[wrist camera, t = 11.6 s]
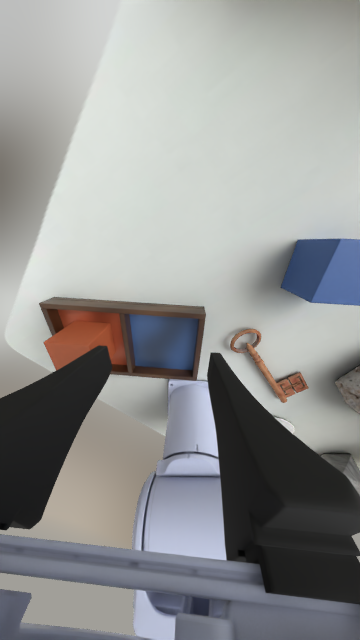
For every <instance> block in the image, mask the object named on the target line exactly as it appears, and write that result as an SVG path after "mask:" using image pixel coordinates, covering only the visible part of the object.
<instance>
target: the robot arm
mask: <svg viewBox="0 0 360 640" xmlns="http://www.w3.org/2000/svg"><path fill="white" fill-rule="evenodd" d="M111 370H112V364H111V360H110V355H109V351H108V347H107V346H100V345H99V346H97V347H95V348H93V349H92V350H90V351H88V352H87V353H85V354H83V355H82V356H80V357H78V358H77V359H75V360H74V361H72V362H70V363H69V364H67V365H65V366H64V367H62V368H60V369H58V370H57V371H55V372H53V373H51V374H50V375H48V376H46V377H44V378H42V379H40V380H38V381H36V382H34V383H33V384H30V385H29V386H26V387H24V388H22V389H20V390H18V391H16V392H14V393H11V394H9V395H7V396H5V397H2V398H0V530H7V529H8V528H9V527H14V528H23V529H31V528H32V527H33V526H35V525H36V524H37V523H38V522H39V521H40V520H41V518H42V515H43V512H44V510H45V507H46V505H47V502H48V499H49V497H50V495H51V492H52V489H53V487H54V484H55V482H56V480H57V477H58V475H59V473H60V470H61V468H62V465H63V463H64V461H65V458H66V456H67V454H68V452H69V450H70V447H71V445H72V443H73V441H74V439H75V437H76V435H77V433H78V430H79V429H80V426H81V424H82V422H83V420H84V419H85V417H86V415H87V413H88V412H89V410H90V408H91V407H92V405H93V403H94V402H95V400H96V398H97V397H98V395H99V393H100V392H101V390H102V388H103V387H104V385H105V383H106V381H107V379H108V377H109V375H110V372H111ZM207 377H208V381H189V380H177V379H169V382H168V422H167V430H166V438H165V446H164V454H163V460H158V462H157V468H156V471H154V472H152V473H151V474H150V475H149V477H148V478H147V480H146V482H145V483H144V485H143V487H142V490H141V493H140V496H139V499H138V503H137V508H136V513H135V520H134V526H133V539H132V550H131V549H123V548H114V547H106V546H97V545H87V544H80V543H70V542H61V541H54V540H45V539H37V538H36V539H35V538H28V537H19V536H10V535H2V534H0V573H7V574H16V575H23V576H31V577H39V578H47V579H55V580H62V581H71V582H79V583H87V584H95V585H102V586H110V587H119V588H126V589H134V598H133V600H134V601H133V608H134V617H133V628H134V632H135V634H136V636H132V635H126V634H119V633H112V632H105V631H97V630H88V629H79V628H70V627H60V626H50V625H40V624H30V623H21V620H22V618H23V615H24V613H25V611H26V609H27V606H28V604H29V602H30V600H31V593H26V592H19V591H11V590H3V589H0V640H360V562H359V560H358V559H357V557H356V556H360V551H359V549H358V548H357V546H356V544H355V542H354V540H353V538H352V537H351V536H352V535H354V534H357V533H359V532H360V495H359V493H358V492H357V490H356V489H355V487H354V486H353V485H352V483H351V482H350V480H349V479H348V478H347V476H346V475H344V474H343V473H342V472H341V471H339V470H338V469H337V468H335V467H334V466H333V465H331V464H330V463H329V462H327V461H326V460H325V459H323V458H322V457H321V456H319V455H318V454H317V453H316V452H314V451H313V450H312V449H310V448H309V447H308V446H307V445H305V444H304V443H303V442H302V441H301V440H299V439H298V438H297V437H296V436H295V435H293V434H292V433H291V432H290V431H289V430H288V429H286V428H285V427H284V426H283V425H282V424H281V423H280V422H279V421H278V420H277V419H275V418H274V417H273V416H272V415H271V414H270V413H269V412H268V411H267V410H266V409H265V408H264V407H263V406H262V405H261V404H260V403H259V402H258V401H257V400H256V399H255V398H254V397H253V396H252V394H251V393H250V392H249V391H248V390H247V389H246V387H245V386H244V385H243V384H242V383H241V381H240V380H239V379H238V378H237V376H236V375H235V374H234V372H233V371H232V370H231V368H230V367H229V365H228V364H227V363H226V361H225V360H224V358H223V357H222V355H221V354H220V353H211V355H210V361H209V367H208V373H207Z"/></svg>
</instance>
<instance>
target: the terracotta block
mask: <svg viewBox="0 0 360 640" xmlns="http://www.w3.org/2000/svg"><path fill="white" fill-rule="evenodd" d="M44 344H45V347H46V349H47V351H48V353H49V355H50V358H51V360H52V362H53V364H54V366H55V368H56V371H57V370H58V369H60V368H62V367H64V366H65V365H67V364H69V363H70V362H72V361H74V360H75V359H77V358H78V357H80V356H82V355H83V354H85V353H87V352H88V351H90V350H92V349H93V348H95V347H97V346H99V345H100V346H107V347H108V351H109V355H110V360H111V359H112V357H113V356H114V354H115V353H116V350H115V344H114V339H113V334H112V329H111V324H110V323H98V322H84V321H74V322H72V323H71V324H70V325H68V326H67V327H65V328H64V329H62V330H61V331H59V332H58V333H56V334H55V335H53V336H52V337H51V338H49V339H48V340H46V341H45V342H44Z"/></svg>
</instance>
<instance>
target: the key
mask: <svg viewBox="0 0 360 640" xmlns="http://www.w3.org/2000/svg"><path fill="white" fill-rule="evenodd" d="M246 333H256V334H257V339H256V341H255V342H254V343H253V344H252V345H250V344H248V343H246V344H247V348H245V349H236V348H234V343H235V341H236V340H237V339H238V338H239V337H240V336H242V335H244V334H246ZM260 340H261V334H260V332H259V331H257V330H255V329H247V330H243V331H241V332H239V333H238V334H236V335H235V336H234V337H233V339H232V340H231V344H230V347H231V349H232V350H233V351H235V352H237V353H244V352H248V351H249V352H250V355H251V356H252V357H253V360H254V361H255V363H256V365H258V367H259V368H260V370H261V372H262V373H263V375H264V376H265V378H266V379H267V381H268V382H269V384H270V385H271V387H272V388H273V390H274V391H275V393H276V394H277V396H278V397H279V399H280V400H281V402H283V403H285V402H287V399H286V398H287V397H289V396H291V395H294V394H295V392H294V390H293V389H292V386H293V388H294V389H295V391H296V392H297V393H298V392H301V391H303V390H305V389H308V386H307V384H306V382H305V380H304V378H303V376H302V374H301V373H300V372H299V373H297V374H295V375H293V376H291V377H288V379H289V381H290V382H291V385H290V383H289V382H288V380H287V379H284V380H282V381H280V382H278V383H276V382H275V380H274V379H273V377H272V375H271V374H270V372H269V371H268V369H267V367H266V366H265V364H264V363H263V362H264V361H263V360H262V359H261V358H260V356H259V355H258V353H257V352H256V351H255V349H254V348H255V347H256V346H257V345H258V344H259V342H260ZM298 376H300V378H301V380H300V379H299V377H298ZM301 382H303V384H304V386H303V385H302V383H301ZM280 384H281V385H282V387H283V388H281V387H280ZM283 390H285V392H286V394H285V393H284V392H283Z"/></svg>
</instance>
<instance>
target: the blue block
mask: <svg viewBox="0 0 360 640" xmlns="http://www.w3.org/2000/svg"><path fill="white" fill-rule="evenodd" d="M281 288H283V289H285V290H287V291H289V292H291V293H293V294H295V295H297V296H299V297H301V298H303V299H305V300H307V301H309V302H311V303H327V304H343V305H358V306H360V240H357V239H305V240H298V241H297V244H296V247H295V249H294V252H293V255H292V258H291V261H290V263H289V266H288V269H287V272H286V274H285V277H284V280H283V283H282V285H281Z"/></svg>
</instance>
